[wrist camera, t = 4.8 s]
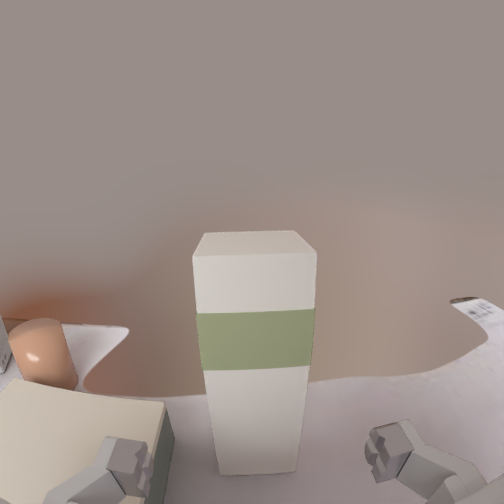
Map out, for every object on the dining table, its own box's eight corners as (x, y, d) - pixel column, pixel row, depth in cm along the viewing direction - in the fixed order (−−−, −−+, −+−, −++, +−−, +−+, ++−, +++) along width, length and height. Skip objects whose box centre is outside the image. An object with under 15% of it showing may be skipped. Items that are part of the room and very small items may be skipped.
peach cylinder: (86, 370, 26) (71, 319, 25) (63, 405, 20) (41, 351, 19) (44, 363, 26) (28, 316, 24) (19, 394, 20) (-3, 342, 18)
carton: (286, 422, 21) (294, 230, 17) (296, 471, 16) (318, 252, 12) (220, 425, 20) (204, 232, 17) (219, 476, 16) (190, 256, 12)
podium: (174, 438, 19) (164, 401, 18) (150, 602, 5) (122, 592, 4) (30, 412, 18) (13, 377, 17) (-34, 518, 5) (-69, 485, 4)
